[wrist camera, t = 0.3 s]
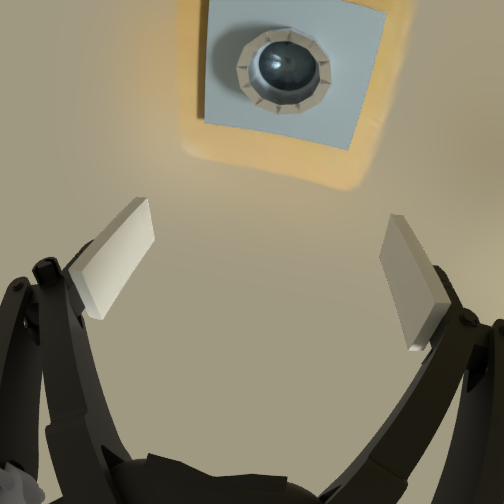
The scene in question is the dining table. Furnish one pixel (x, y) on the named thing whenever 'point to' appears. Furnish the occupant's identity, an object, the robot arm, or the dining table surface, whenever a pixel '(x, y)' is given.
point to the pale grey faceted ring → (284, 71)
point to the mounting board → (335, 44)
